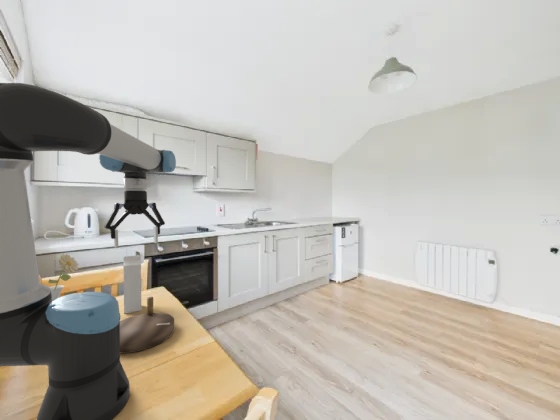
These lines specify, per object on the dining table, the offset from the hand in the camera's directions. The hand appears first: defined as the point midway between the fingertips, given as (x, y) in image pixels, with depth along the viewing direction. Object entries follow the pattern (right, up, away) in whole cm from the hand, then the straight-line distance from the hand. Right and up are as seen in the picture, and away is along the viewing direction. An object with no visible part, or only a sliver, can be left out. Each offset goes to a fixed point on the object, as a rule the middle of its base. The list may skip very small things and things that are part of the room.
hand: (137, 244), depth 95 cm
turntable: (+10, -28, -15) cm, 33 cm away
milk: (-5, -27, +5) cm, 28 cm away
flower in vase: (-23, -28, -8) cm, 37 cm away
